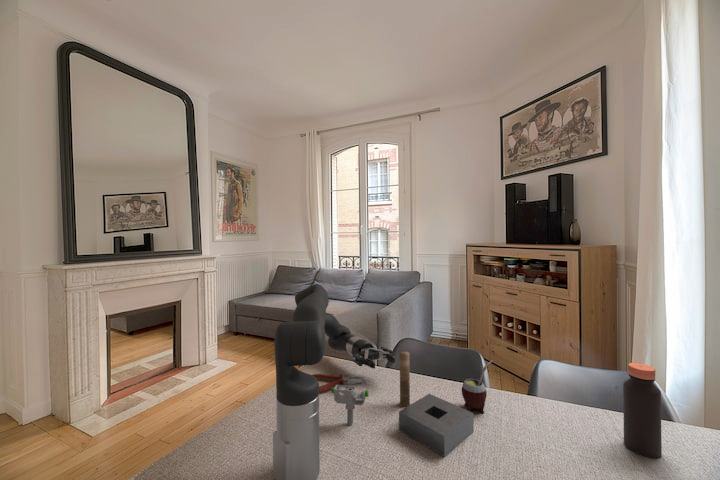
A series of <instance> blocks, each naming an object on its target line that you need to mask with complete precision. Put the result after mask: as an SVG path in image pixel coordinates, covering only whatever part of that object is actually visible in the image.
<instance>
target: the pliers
mask: <svg viewBox="0 0 720 480" xmlns="http://www.w3.org/2000/svg"><path fill="white" fill-rule="evenodd" d="M311 375H312V376H314V377H315V378H316V379H317V380H318V381H320V382H321V381H322V382H328V383H326V384H323V385H319V395H322V394H326V393H328V392H332V387H335V386H336V385H345V386H350V385H355V384H360V383H365V382H366V380H365V379H364V376H345V377H343V374H339V375H332V374H331V375H330V374H323V373H313V374H311Z"/></svg>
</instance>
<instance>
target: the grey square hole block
mask: <svg viewBox="0 0 720 480" xmlns="http://www.w3.org/2000/svg"><path fill="white" fill-rule="evenodd" d="M474 423H475V422H474V412H473V411H472V412H470V411H468V409H465V408H463V407H460V406H458V405H456V404H455V403H452V402H449V401H447V400H445V399H443V398H440V397H438V396H436V395H433V394H431V393H428V394H427V395H425V396H423V397H422V398H420V399H418V400H416V401H415V402H412V403H410V405H409V406H407V407H403V408H402V409H400V410H399V411H398V430H399V431H400V432H401V433H403V434H405V435H407V436H408V437H410V438H411V439H414V440H415V441H417V442H418V443H420V444H422V445H424V446H425V447H426V448H428V449H431V450H432V451H433V452H435V453H437V454H438V455H440V456H441V457H443V458H445V457H447V456H448V455H449V454H450V453H451V452H452V451H454V450H455V449H456V448H457V447H458V446H460V444H462V443H463V441H465V440H466V439H467V438H469V437H470V435H472V434H473V433H474V429H475V428H474Z"/></svg>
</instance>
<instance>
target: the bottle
mask: <svg viewBox="0 0 720 480" xmlns="http://www.w3.org/2000/svg"><path fill="white" fill-rule="evenodd" d="M627 374H628V376H629V378H628V379H626V380H625V381H624V382H623V383H622V384H623V387H622V389H623V391H622V392H623V393H622V394H623V395H622V396H623V397H622V398H623V399H622V400H623V409H622V410H623V444H624V445H625V447H627V448H628V449H630V450H631V451H632V452H634V453H636V454H639V455H640V456H644V457H647V458H652V457H655V458H656V457H657V458H660V457H662V453H663V450H662V448H663V447H662V444H663V443H662V392H661V390H660V389H659V387H658V386H656V385H655V384H654V382H655V381H656V369H655V368H654V367H652V366H651V365H650V366H649V365H648V364H644V363H637V362H630V363H628V364H627ZM655 458H654V459H655Z"/></svg>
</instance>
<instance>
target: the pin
mask: <svg viewBox="0 0 720 480" xmlns="http://www.w3.org/2000/svg"><path fill="white" fill-rule="evenodd" d="M410 360H411V359H410V352H409V351H401V352H399V405H400V407H402V408H406V407H407V406H409V405H411V401H410V400H411V399H410V398H411V395H410V390H411V389H410V388H411V387H410V386H411V383H410V382H411V381H410V380H411V379H410V376H411V373H410V370H411V369H410Z"/></svg>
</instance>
